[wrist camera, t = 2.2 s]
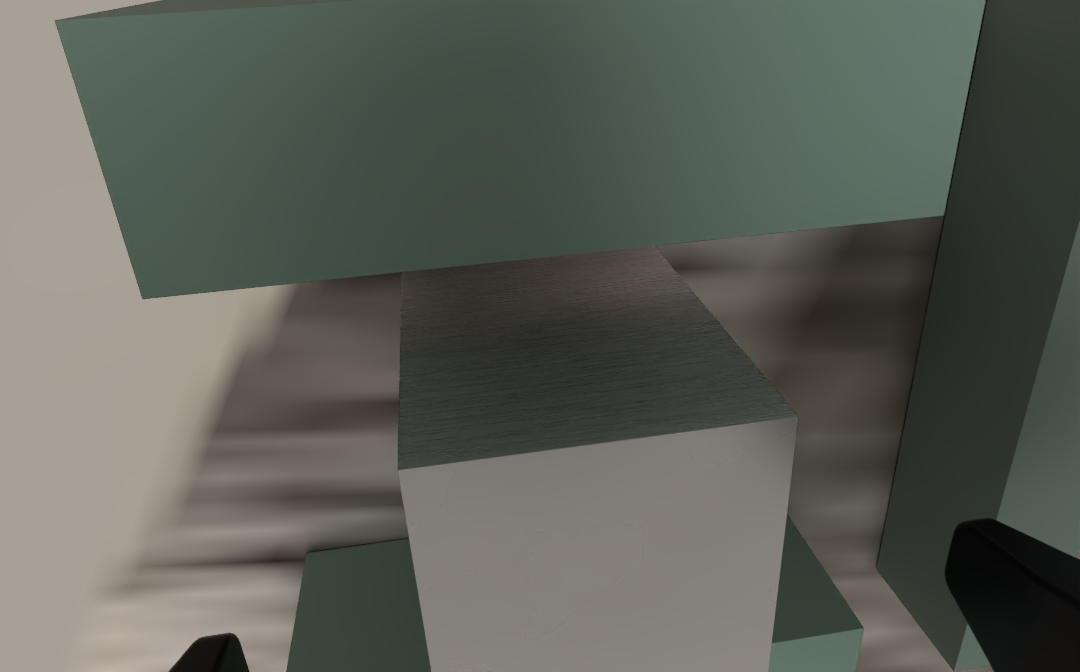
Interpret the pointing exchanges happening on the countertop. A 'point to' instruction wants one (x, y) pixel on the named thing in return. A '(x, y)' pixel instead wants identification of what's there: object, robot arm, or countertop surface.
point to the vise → (633, 213)
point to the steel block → (587, 470)
